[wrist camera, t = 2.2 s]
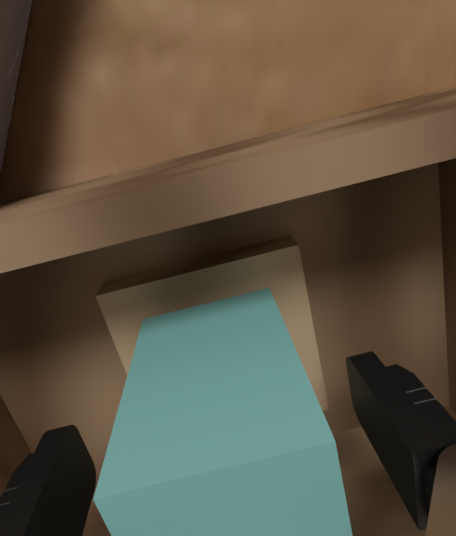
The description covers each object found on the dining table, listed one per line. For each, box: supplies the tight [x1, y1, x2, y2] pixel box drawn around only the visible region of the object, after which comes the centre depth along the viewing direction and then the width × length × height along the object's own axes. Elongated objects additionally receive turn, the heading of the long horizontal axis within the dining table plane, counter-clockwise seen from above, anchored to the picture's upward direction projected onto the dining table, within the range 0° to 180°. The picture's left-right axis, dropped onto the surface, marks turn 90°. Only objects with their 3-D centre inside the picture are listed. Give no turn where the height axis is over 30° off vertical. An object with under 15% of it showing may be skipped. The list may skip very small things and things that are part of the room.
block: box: [93, 288, 353, 536], centre depth 11 cm, size 4×4×7 cm
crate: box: [0, 88, 456, 536], centre depth 14 cm, size 20×14×6 cm
